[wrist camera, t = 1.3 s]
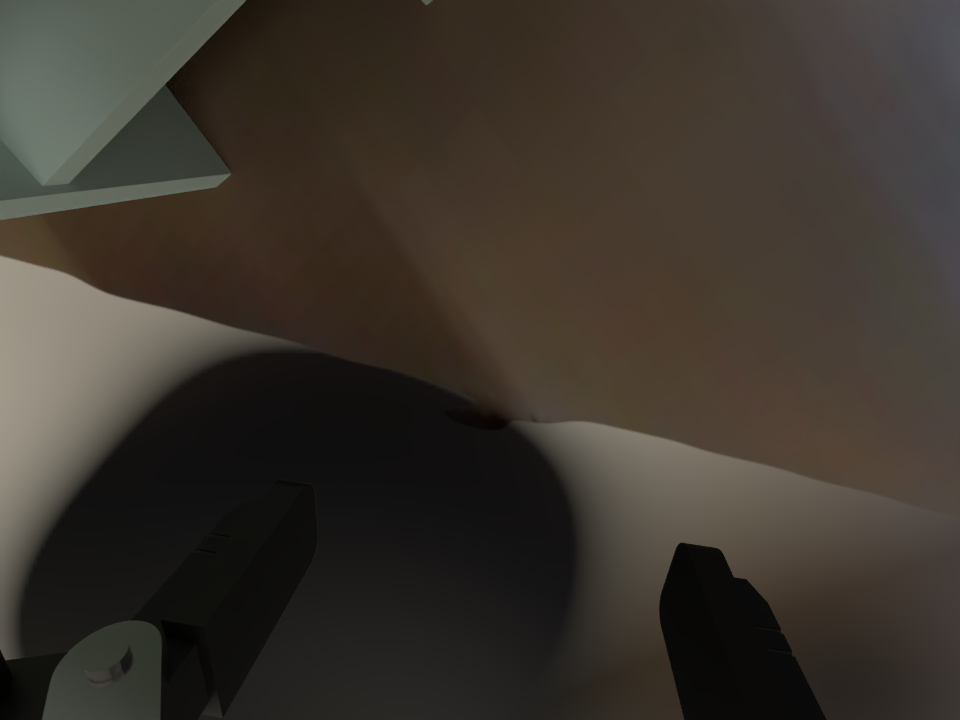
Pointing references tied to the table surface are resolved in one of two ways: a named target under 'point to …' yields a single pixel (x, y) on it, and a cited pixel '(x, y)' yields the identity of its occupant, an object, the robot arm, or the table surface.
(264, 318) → the table surface
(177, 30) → the tall sage green box
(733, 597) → the robot arm
